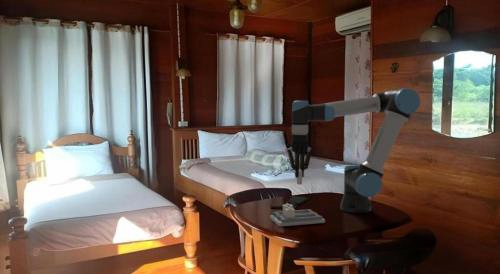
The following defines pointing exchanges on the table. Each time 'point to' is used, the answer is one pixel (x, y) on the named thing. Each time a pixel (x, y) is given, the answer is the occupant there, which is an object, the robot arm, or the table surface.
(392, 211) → the table surface
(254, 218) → the table surface
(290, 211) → the tab
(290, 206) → the tab
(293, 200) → the firearm
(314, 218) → the switch plate
